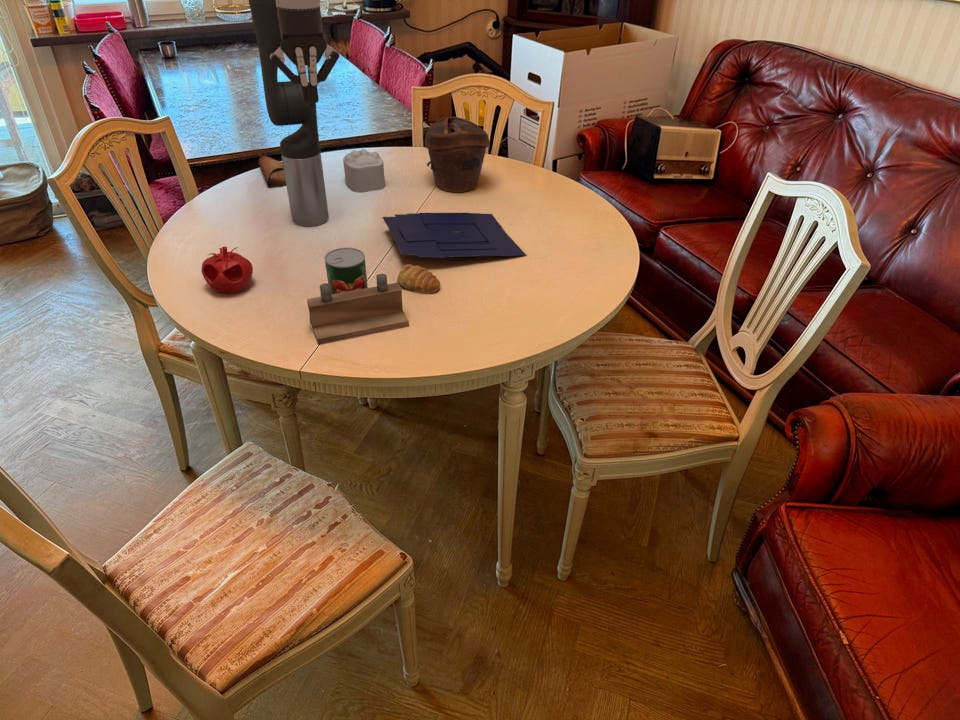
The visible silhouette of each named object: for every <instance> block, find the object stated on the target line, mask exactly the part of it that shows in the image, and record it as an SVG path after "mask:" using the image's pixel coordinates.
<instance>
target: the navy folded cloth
mask: <svg viewBox="0 0 960 720" xmlns="http://www.w3.org/2000/svg"><path fill="white" fill-rule="evenodd" d="M382 219H383V220H384V222H385V224H386V226H387V228H388V229H389V232H390V233H391V235H392V237H393V239H394V242H395V243H396V245H397V247H398V249H399V252H400V253H401V255H402V256H417V258H433V259H438V258H439V259H440V258H441V259H443V258H445V259H447V258H460V257H463V258H465V257H466V258H467V257H495V256H497V257H498V256H499V257H514V256H515V257H517V256H527V253H526V252H524V250H522V248H521V247H520V246H519V245H518V244H517V243H516V242H515V241H514V240H513V239H512V237H510V236H509V234H507V232H506V231H505V229H504V228H503V227H502V226H501V224H500V223H499V222H498V220H497V219H496V218H495V216H494V215H493V213H480V212H479V213H478V212H418V213H415V212H414V213H405V214H404V213H401V214H394V216H382Z"/></svg>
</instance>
